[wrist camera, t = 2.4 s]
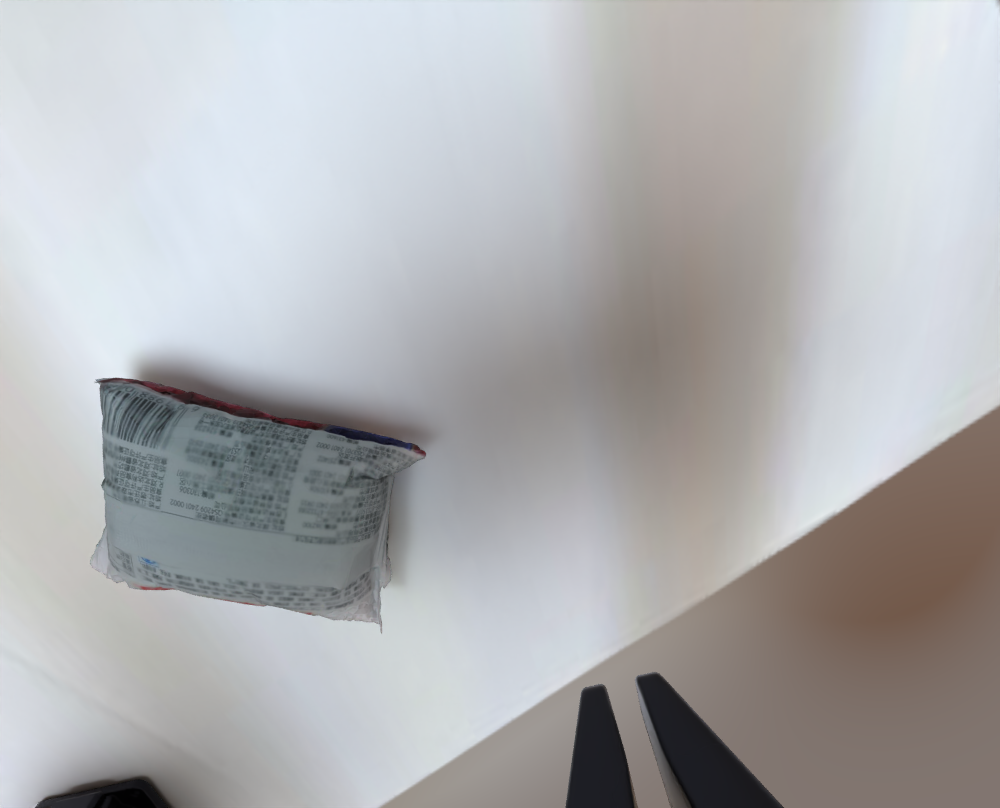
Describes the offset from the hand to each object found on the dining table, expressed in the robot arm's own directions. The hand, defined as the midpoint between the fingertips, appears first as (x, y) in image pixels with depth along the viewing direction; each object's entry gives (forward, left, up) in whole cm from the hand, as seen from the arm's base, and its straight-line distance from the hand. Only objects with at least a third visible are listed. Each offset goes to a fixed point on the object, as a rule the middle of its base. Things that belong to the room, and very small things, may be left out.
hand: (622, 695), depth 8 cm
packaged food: (0, +12, -13) cm, 17 cm away
